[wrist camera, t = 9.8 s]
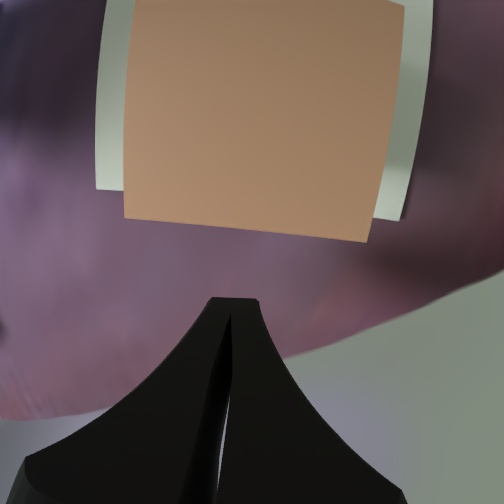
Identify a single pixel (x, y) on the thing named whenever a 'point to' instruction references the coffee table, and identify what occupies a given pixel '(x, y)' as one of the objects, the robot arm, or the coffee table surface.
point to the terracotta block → (260, 113)
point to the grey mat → (403, 123)
